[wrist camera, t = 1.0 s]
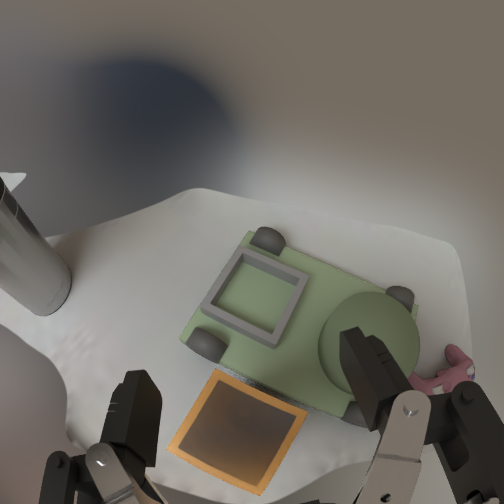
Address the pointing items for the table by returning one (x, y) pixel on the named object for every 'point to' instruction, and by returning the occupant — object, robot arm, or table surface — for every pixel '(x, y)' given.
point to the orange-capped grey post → (237, 433)
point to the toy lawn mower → (297, 323)
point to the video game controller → (446, 374)
